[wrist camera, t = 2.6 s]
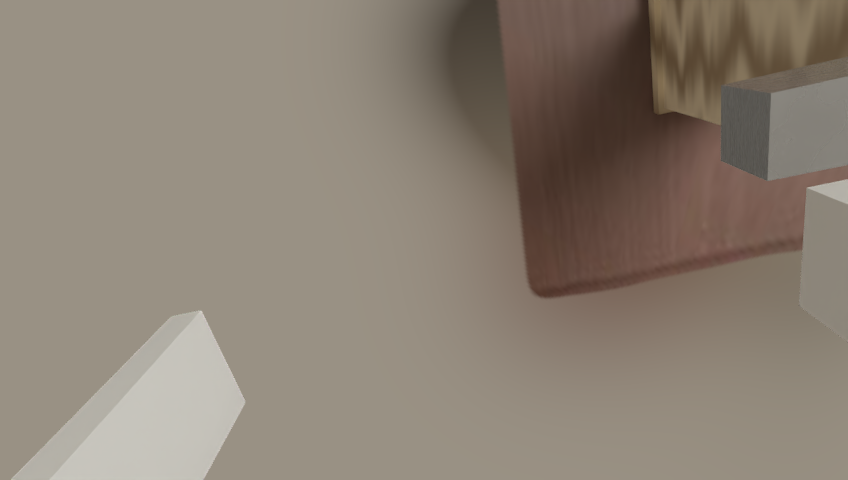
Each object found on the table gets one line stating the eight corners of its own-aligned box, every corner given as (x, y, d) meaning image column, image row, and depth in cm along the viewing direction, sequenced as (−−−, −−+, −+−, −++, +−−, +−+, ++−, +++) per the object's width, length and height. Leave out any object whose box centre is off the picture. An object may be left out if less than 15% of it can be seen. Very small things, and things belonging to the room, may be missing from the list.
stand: (647, -12, 42) (947, -89, 17) (755, -40, 41) (1244, -164, 16) (653, 112, 46) (903, 198, 21) (752, 91, 45) (1137, 153, 20)
